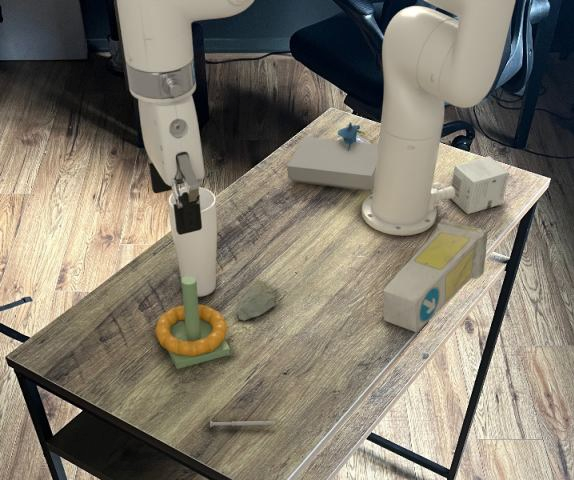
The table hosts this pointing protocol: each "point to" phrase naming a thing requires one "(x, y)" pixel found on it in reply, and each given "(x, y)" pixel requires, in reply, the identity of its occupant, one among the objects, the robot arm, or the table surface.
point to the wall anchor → (243, 423)
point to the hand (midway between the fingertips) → (176, 210)
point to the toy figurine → (350, 134)
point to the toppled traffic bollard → (435, 274)
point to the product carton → (479, 184)
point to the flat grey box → (334, 163)
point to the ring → (191, 346)
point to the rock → (256, 302)
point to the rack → (193, 328)
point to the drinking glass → (198, 244)
